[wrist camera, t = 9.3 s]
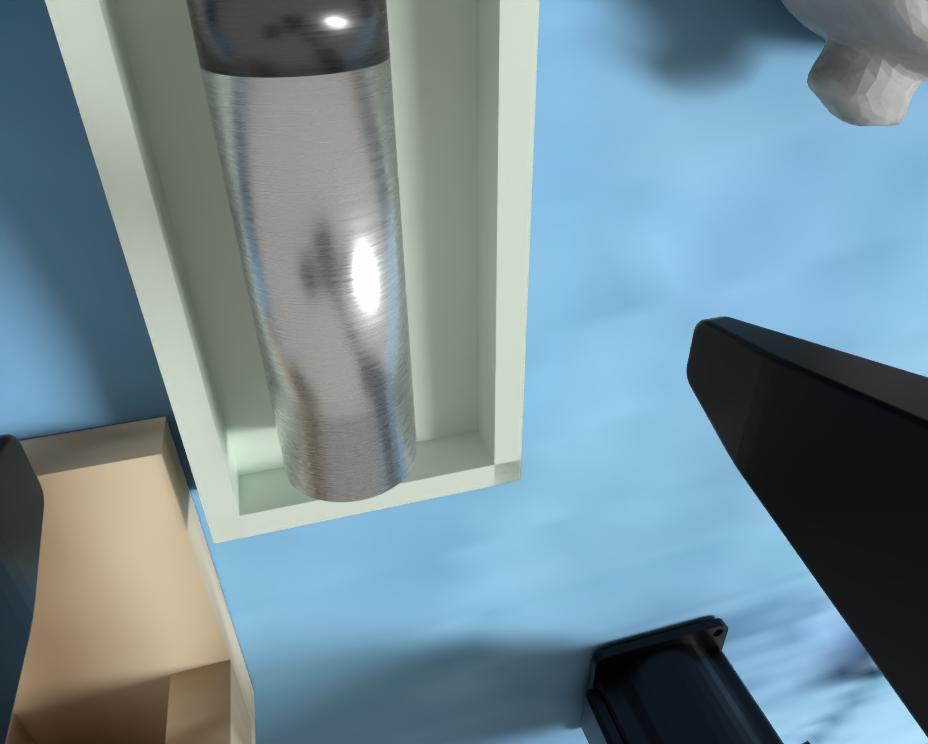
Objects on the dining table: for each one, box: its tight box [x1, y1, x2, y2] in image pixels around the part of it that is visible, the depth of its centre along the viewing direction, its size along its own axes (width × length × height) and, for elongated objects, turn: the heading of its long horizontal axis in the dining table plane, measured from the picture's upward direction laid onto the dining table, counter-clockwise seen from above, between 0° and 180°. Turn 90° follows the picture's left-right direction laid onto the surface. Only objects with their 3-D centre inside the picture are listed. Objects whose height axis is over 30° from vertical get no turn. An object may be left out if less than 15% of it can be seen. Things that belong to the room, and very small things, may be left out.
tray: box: [45, 0, 539, 544], centre depth 16 cm, size 9×16×2 cm, turn 1°
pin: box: [186, 0, 417, 502], centre depth 15 cm, size 3×11×3 cm, turn 1°
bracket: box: [5, 416, 256, 744], centre depth 19 cm, size 8×13×6 cm, turn 1°
